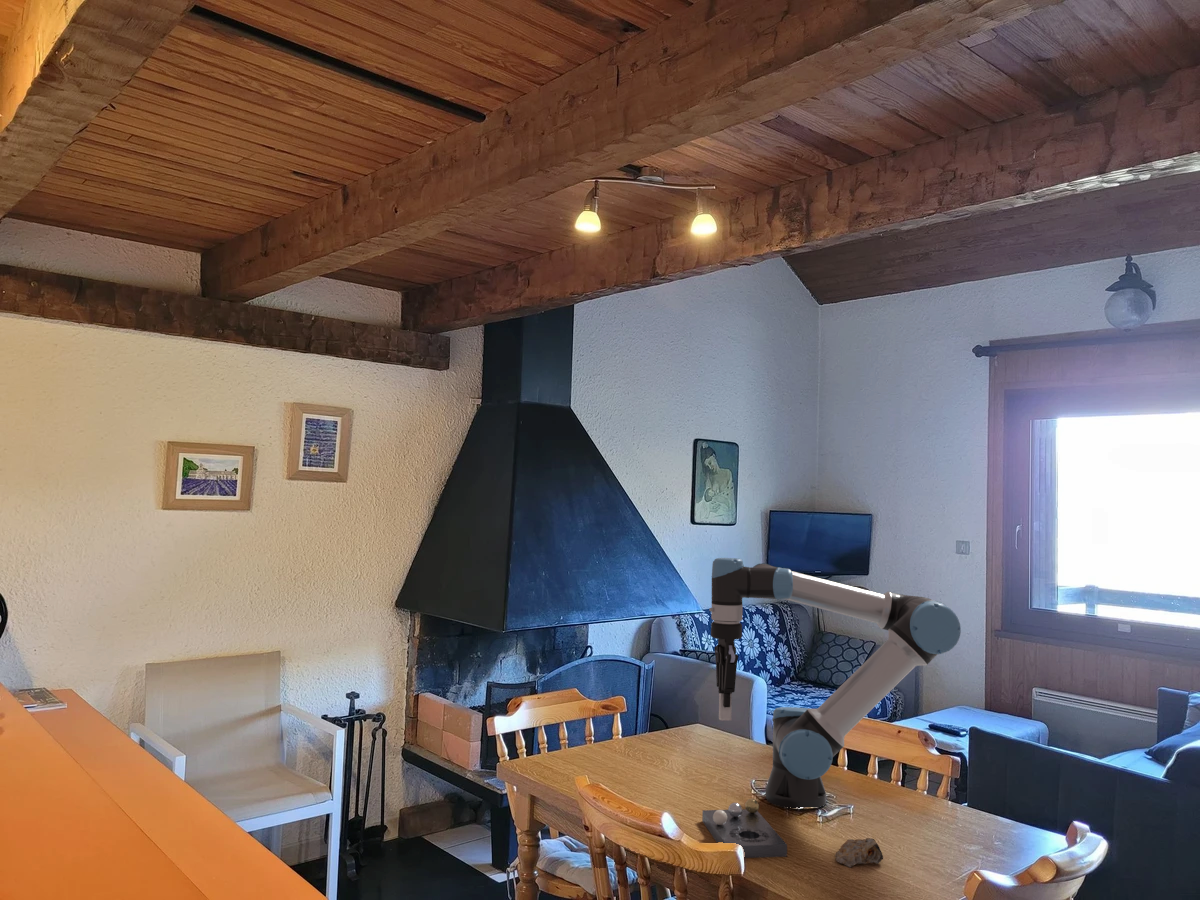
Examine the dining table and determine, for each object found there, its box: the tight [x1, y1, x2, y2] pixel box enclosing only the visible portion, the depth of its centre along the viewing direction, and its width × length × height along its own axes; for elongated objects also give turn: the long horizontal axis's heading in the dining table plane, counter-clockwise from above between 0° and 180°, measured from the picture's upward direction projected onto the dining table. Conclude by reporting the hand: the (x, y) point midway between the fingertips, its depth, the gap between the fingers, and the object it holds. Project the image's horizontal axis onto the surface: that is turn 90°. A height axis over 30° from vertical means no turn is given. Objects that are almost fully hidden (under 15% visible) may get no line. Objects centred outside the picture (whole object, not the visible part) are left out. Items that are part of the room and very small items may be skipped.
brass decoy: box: [744, 798, 760, 813], centre depth 208 cm, size 3×3×3 cm
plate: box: [701, 808, 788, 859], centre depth 198 cm, size 22×13×2 cm, turn 7°
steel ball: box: [727, 802, 743, 818], centre depth 205 cm, size 3×3×3 cm
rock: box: [834, 837, 884, 868], centre depth 187 cm, size 9×6×10 cm
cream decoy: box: [713, 809, 727, 825], centre depth 200 cm, size 3×3×3 cm
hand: (725, 719), depth 215 cm, fingers closed
